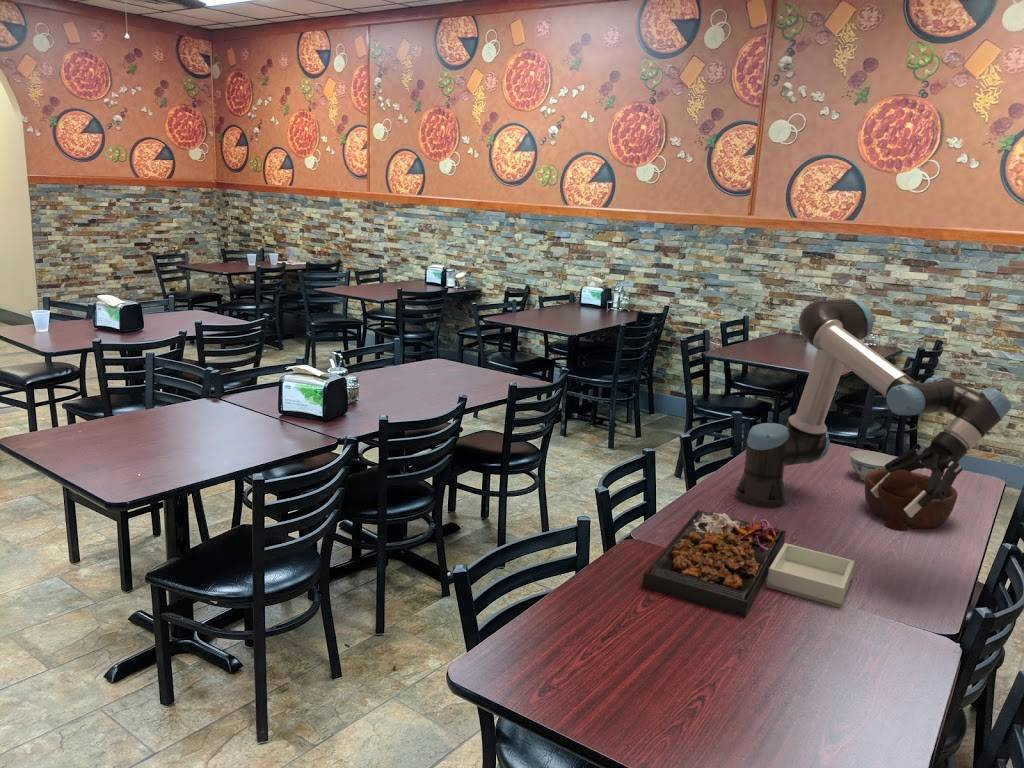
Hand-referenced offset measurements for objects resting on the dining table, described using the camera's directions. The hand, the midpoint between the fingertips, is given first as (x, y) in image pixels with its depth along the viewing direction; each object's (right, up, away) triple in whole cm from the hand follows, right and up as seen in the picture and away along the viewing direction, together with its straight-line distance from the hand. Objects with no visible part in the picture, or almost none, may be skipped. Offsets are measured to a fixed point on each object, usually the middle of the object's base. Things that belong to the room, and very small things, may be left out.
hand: (890, 503), depth 195 cm
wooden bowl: (+27, -11, +47) cm, 55 cm away
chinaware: (+29, -3, +76) cm, 81 cm away
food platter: (-39, -18, +11) cm, 44 cm away
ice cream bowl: (+2, -6, +2) cm, 7 cm away
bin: (-19, -20, +3) cm, 27 cm away
